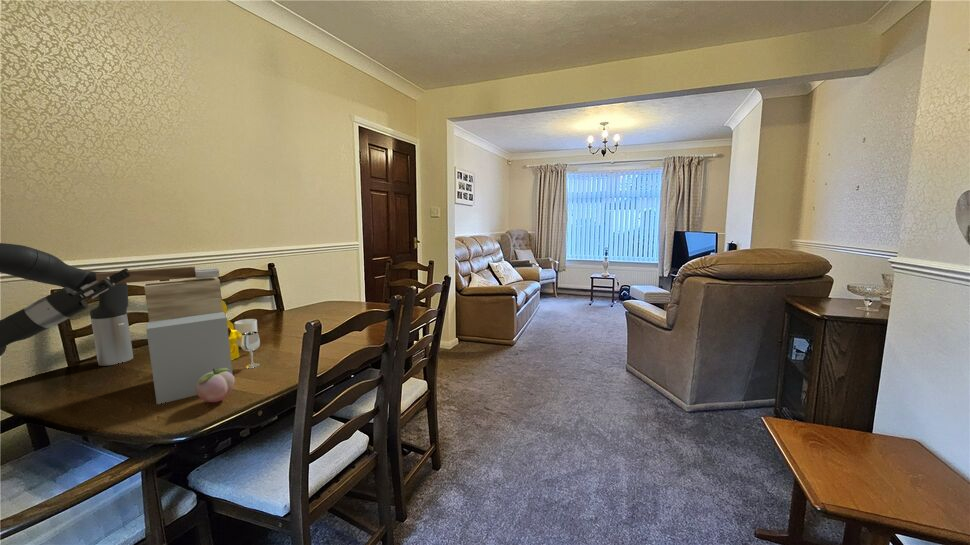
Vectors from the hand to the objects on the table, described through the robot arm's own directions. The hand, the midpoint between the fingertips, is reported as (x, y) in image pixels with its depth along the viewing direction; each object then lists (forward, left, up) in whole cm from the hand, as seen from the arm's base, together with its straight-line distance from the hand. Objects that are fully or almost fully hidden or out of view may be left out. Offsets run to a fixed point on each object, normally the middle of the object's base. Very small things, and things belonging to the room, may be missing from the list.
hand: (128, 271), depth 109 cm
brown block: (0, +8, -3) cm, 8 cm away
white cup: (-26, +30, -36) cm, 54 cm away
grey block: (+12, +12, -36) cm, 40 cm away
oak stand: (0, +12, -36) cm, 38 cm away
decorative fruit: (+26, +16, -36) cm, 48 cm away
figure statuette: (-12, +22, -37) cm, 44 cm away
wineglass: (+2, +28, -36) cm, 46 cm away
